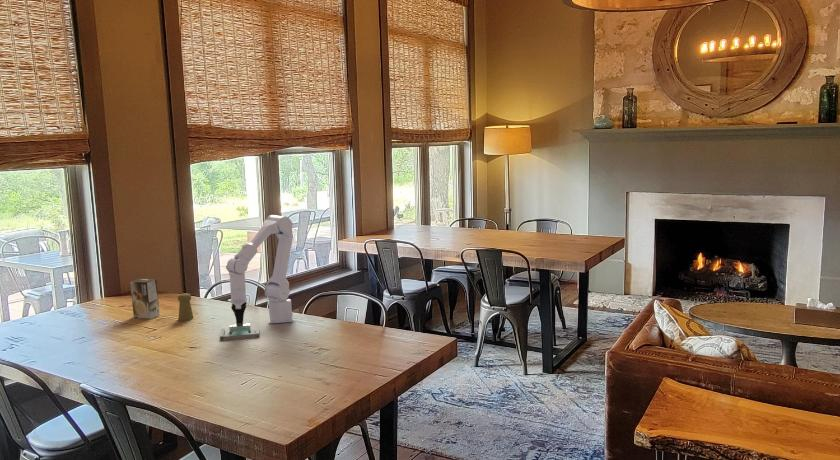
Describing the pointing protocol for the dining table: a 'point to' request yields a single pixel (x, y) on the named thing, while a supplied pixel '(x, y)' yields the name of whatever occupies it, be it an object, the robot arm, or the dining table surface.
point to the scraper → (239, 327)
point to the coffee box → (145, 298)
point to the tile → (240, 331)
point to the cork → (185, 307)
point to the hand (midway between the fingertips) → (240, 321)
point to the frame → (238, 335)
